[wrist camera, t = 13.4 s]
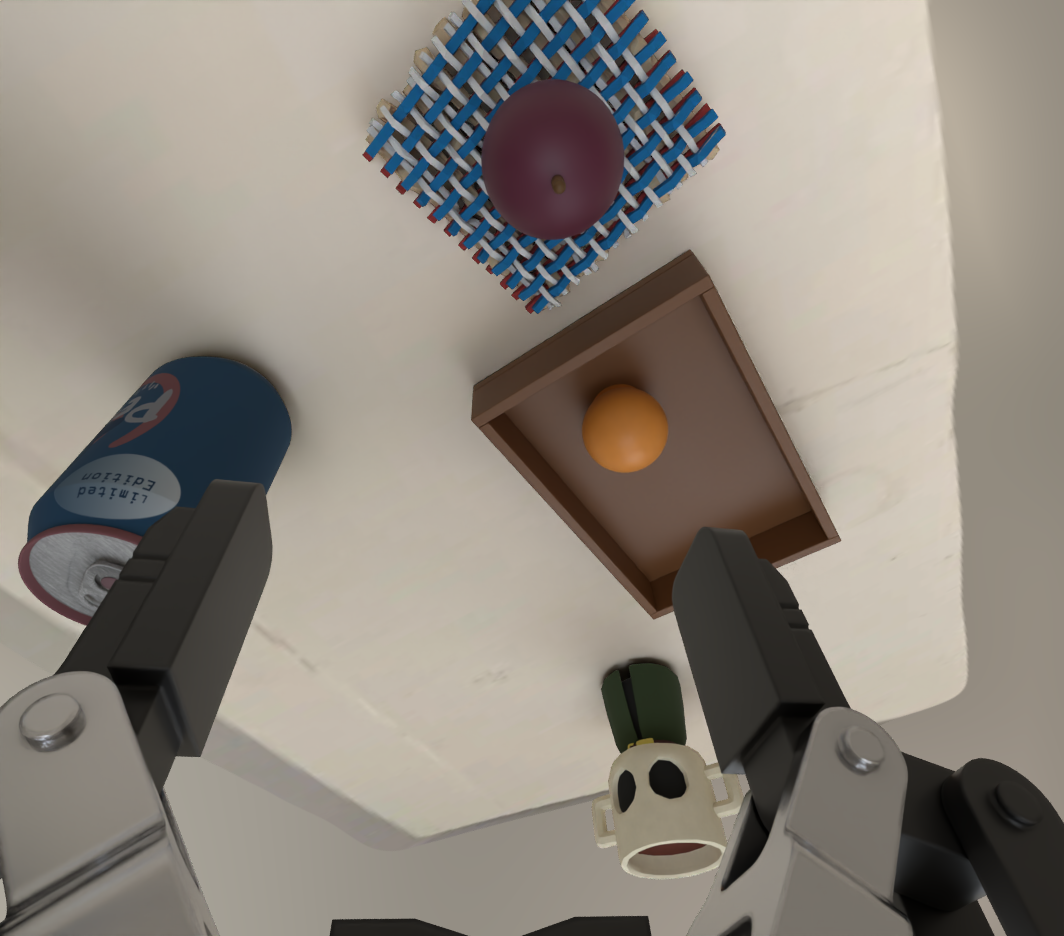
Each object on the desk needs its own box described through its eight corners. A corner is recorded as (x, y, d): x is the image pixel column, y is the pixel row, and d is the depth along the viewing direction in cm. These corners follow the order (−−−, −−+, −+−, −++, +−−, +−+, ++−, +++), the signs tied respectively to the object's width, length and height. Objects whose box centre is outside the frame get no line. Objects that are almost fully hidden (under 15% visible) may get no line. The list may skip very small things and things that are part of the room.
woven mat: (351, 138, 23) (340, 149, 22) (548, -127, 19) (552, -138, 17) (536, 314, 28) (538, 334, 27) (727, 136, 24) (743, 147, 22)
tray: (472, 385, 31) (470, 419, 28) (690, 248, 27) (709, 274, 24) (644, 582, 41) (653, 620, 38) (819, 505, 37) (841, 541, 34)
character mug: (684, 633, 45) (737, 822, 35) (717, 677, 49) (773, 858, 39) (559, 680, 48) (574, 864, 38) (599, 717, 52) (622, 893, 42)
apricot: (562, 399, 31) (569, 448, 27) (635, 356, 29) (651, 403, 26) (603, 451, 33) (614, 502, 30) (672, 414, 31) (691, 464, 28)
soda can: (177, 317, 28) (11, 485, 18) (319, 389, 30) (238, 568, 21) (139, 420, 31) (-17, 606, 22) (270, 476, 34) (182, 663, 24)
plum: (456, 129, 21) (444, 165, 17) (569, 37, 20) (587, 51, 16) (531, 241, 24) (537, 296, 20) (636, 167, 22) (668, 210, 18)
